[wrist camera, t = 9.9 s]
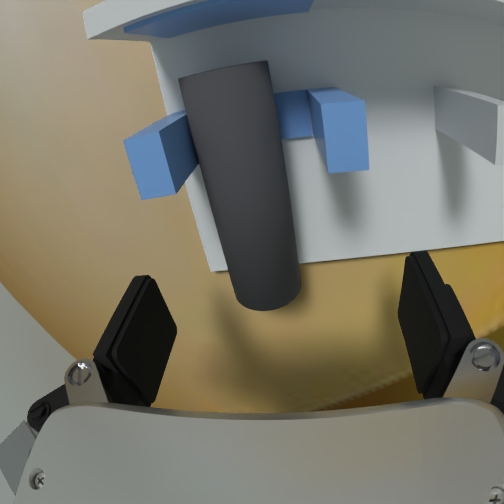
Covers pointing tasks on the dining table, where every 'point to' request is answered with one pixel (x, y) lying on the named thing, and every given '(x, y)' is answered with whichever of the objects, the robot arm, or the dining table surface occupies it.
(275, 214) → the cylinder
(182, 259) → the dining table surface
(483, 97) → the white holder rack
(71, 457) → the robot arm
